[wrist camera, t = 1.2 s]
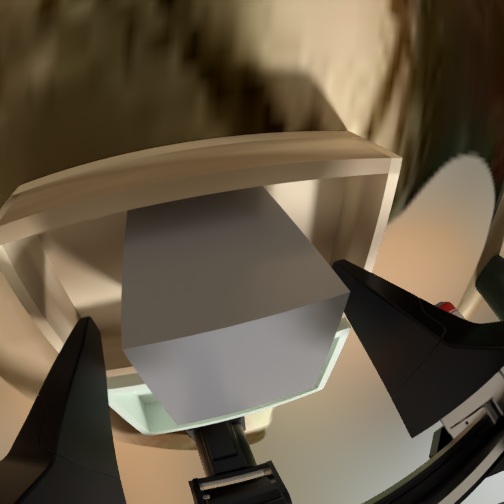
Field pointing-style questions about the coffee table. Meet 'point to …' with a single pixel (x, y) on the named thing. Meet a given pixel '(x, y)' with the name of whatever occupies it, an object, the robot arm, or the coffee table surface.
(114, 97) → the coffee table surface
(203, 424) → the bin
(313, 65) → the coffee table surface
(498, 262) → the potion bottle
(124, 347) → the stone block
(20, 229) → the bin
